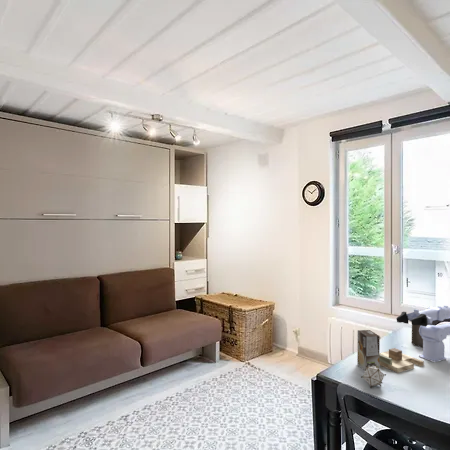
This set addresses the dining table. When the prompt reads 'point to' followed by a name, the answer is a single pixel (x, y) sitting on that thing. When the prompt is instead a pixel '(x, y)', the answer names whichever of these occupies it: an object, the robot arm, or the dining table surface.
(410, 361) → the trap deck
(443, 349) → the robot arm
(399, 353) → the walnut block
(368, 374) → the game die
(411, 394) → the dining table surface
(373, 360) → the coffee box
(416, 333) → the dark brown upright box
